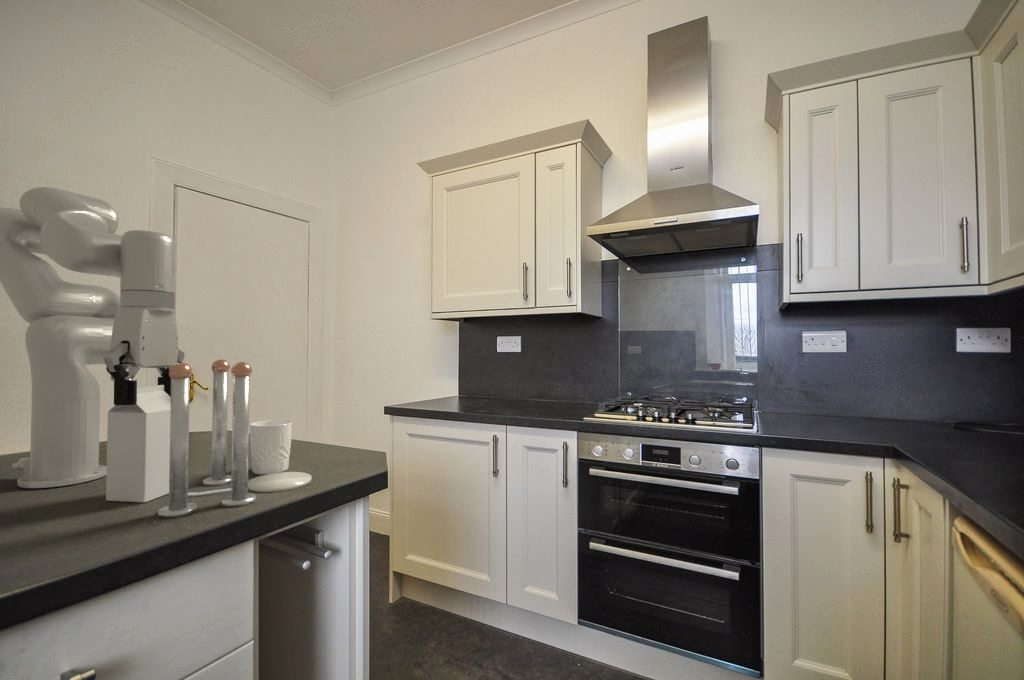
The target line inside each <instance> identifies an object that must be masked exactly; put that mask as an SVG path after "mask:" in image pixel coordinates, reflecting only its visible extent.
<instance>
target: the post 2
mask: <svg viewBox="0 0 1024 680" xmlns="http://www.w3.org/2000/svg"><path fill="white" fill-rule="evenodd" d="M230 368H231V365H230V363H229V362H228V361H227V360H225V359H216V360H215V361H214V362H213V363H212V365H211V371H212V373H213V374H212V377H213V378H212V379H213V380H212V420H211V421H212V424H211V425H212V426H211V427H212V428H211V429H212V430H211V431H212V432H211V476H209V477H206V478H204V479H203V480H202V485H204V486H207V487H208V486H209V487H210V486H212V487H213V486H215V487H216V486H222V485H226V484H227V485H228V484H231V474H227V459H228V458H227V454H228V453H227V451H228V450H227V448H228V445H227V443H228V442H227V441H228V402H229V401H228V399H229V397H228V396H229V395H228V392H229V389H228V386H229V372H230Z"/></svg>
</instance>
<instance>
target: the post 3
mask: <svg viewBox="0 0 1024 680" xmlns="http://www.w3.org/2000/svg"><path fill="white" fill-rule="evenodd" d="M230 372H231V376H232V416H231V417H232V420H231V421H232V423H231V425H232V426H231V427H232V428H231V430H232V431H231V432H232V433H231V474H230V475H231V482H230V486H231V487H230V488H231V492H230V495H229V496H226V497H224V498H223V499H222V500H221V506H222V507H224V508H236V507H242V506H243V507H244V506H247V505H250V504H253V503H255V502H256V501H257V494H255V493H251V492H250V493H249V489H248V482H249V443H250V442H249V439H250V437H249V436H250V390H251V389H250V384H251V383H250V382H251V381H250V380H251V378H250V377H251V375H252V372H253V369H252V366H251V365H250V364H249V363H247V362H245V361H239V362H236V363H235V364H234V365H232V367H231V371H230Z"/></svg>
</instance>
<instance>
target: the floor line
mask: <svg viewBox="0 0 1024 680" xmlns="http://www.w3.org/2000/svg"><path fill="white" fill-rule="evenodd" d="M229 492H230V493H231V487H230V488H229V487H228V488H222V489H214V490H207V491H200V492H188V497H201V496H208V495H217V494H223V493H224V494H225V493H229Z"/></svg>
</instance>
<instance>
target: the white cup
mask: <svg viewBox="0 0 1024 680" xmlns="http://www.w3.org/2000/svg"><path fill="white" fill-rule="evenodd" d="M292 431H293V421H292V420H288V419H271V420H270V419H269V420H260V421H255V422H251V423H249V436H250V437H249V439H250V442H249V443H250V457H251V472H252V473H253V474H254V473H255V475H268V474H273V473H281V472H286V471H287V470H288V469H289V467H290V465H289V464H290V455H291V445H292ZM285 470H286V471H285Z"/></svg>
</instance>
